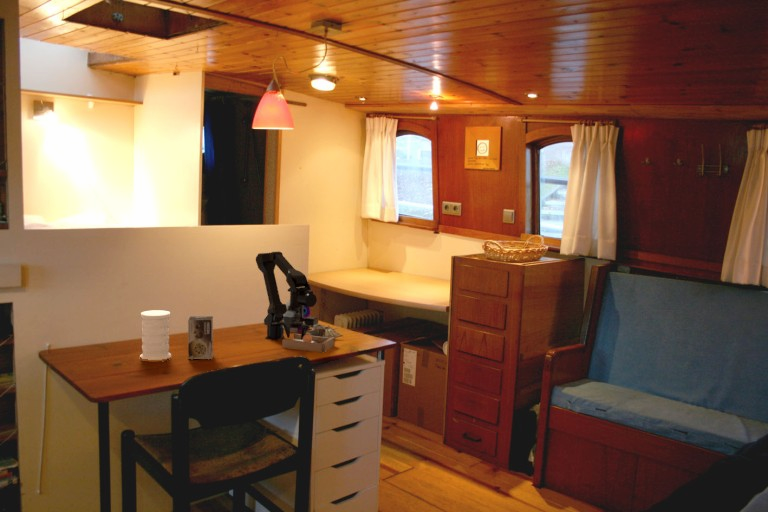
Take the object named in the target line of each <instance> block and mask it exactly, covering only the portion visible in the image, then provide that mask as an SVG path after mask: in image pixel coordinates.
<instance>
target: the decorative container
mask: <svg viewBox="0 0 768 512" xmlns="http://www.w3.org/2000/svg"><path fill="white" fill-rule="evenodd" d="M140 317H141V318H142V321H141V326H142V329H141V334H142V337H141V342H142V345H141V350H142V353H141V354H140V355H139V358H140V357H141V358H142V359H148V360H162V359H167V358H170V357H171V358H172V353H170V352H169V350H170V345H169V342H170V336H169V333H170V329H169V326H170V320H169V318H170V317H171V311H168V310H164V309H163V310H162V309H161V310H160V309H156V310H155V309H153V310H152V309H151V310H145V311H141V312H140Z"/></svg>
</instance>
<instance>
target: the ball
mask: <svg viewBox="0 0 768 512" xmlns="http://www.w3.org/2000/svg"><path fill="white" fill-rule="evenodd" d="M309 334H310V333H309ZM309 334H305V335H304V336H303V341H304V342H311V341H312V336H311V335H309Z"/></svg>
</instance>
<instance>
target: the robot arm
mask: <svg viewBox="0 0 768 512" xmlns="http://www.w3.org/2000/svg"><path fill="white" fill-rule="evenodd" d="M255 262H256V265H257V268H258V270H259V271H260V272H261V273H262V275H263V280H264V284H265V289H266V293H267V298H268V302H269V304H268V305H269V306H268V308H267V315H266V317H264V319H263V324H264V326H266V330H267V331H266V336H265V338H264V339H267V340H277V341H278V340H280V339H284V338H285V335H284V333H285V334H286V337H287V338H286V339H289V338H290V336H291V335H290V334H291V332H290V325H291V323H294V322H295V321H298V322H303V325H301V327H302V332H300V333H301V340H303V336H304V335H306V332H307V331H309V329H308V328H309V326H314V325H316V324H319V318H318V317H317V316H311V315H310V316H309V317H307V318H303V317H304V314H303V308H304V306H308V307H310V308H313V307H314V306H315V305H316V304H317V301H318V300H317V296H316V294H314V291H313V290H311V286H310V283H309V281H308V279H307V276H306V274H304V273H303V271H300V270H298V269H295V267H293V265H292V264H291V263H290V262H289V261H288V260H287V258H286V257H285V256H284V255H283V253H282V252H281V251H280V250H279V251H272V252H260V253H257V255H256V257H255ZM276 267H277V268H278V269H279V270H280V271H281V272H282V274H283V275H284V276H285V281H286V284H287V285H288V286H289V287H288V289H287V292H289V300H290V306H289V307H288V311H287V308H286V303H283V302H282V300H281V297H280V293H279V288H278V284H277V279H276V275H275V269H276ZM299 319H300V320H299ZM283 327H284V328H283ZM284 329H285V331H284Z"/></svg>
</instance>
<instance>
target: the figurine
mask: <svg viewBox="0 0 768 512" xmlns="http://www.w3.org/2000/svg"><path fill="white" fill-rule="evenodd" d="M309 327H310V329H308V330H307V332H306V334H309V335H311V336H319V337H328V338H332V337H335V339H336V338H339V337H341V338H342V337H343V335H342V334H341V333H340V332H339V331H340V330H339V329H341V327H336V328H333V327H330V326H329V325H327V326H325V325H322V324H319V323H318V324H316V325H314V326H309ZM311 328H312V329H311ZM336 330H338V331H336ZM306 334H305V335H306Z"/></svg>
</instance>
